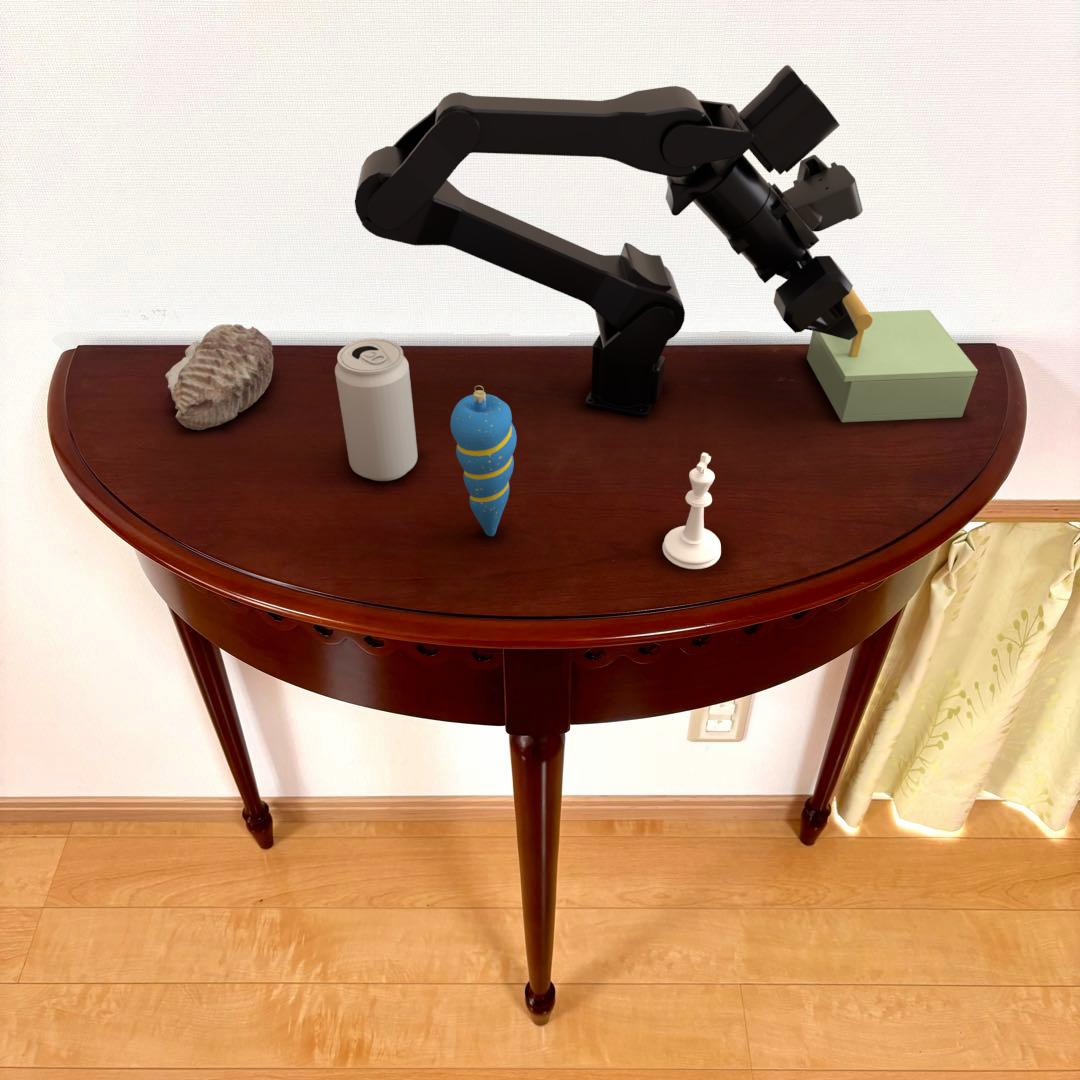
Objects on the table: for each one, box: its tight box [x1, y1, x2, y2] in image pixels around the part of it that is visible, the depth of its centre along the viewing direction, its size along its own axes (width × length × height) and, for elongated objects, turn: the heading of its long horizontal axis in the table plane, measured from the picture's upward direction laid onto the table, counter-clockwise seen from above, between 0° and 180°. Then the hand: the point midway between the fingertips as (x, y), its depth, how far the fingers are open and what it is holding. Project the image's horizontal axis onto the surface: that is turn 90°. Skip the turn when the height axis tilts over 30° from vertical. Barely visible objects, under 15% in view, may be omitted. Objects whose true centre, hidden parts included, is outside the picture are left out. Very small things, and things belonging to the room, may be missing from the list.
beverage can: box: [334, 337, 419, 482], centre depth 87 cm, size 6×6×12 cm
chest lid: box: [814, 288, 979, 382], centre depth 96 cm, size 13×12×6 cm
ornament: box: [449, 385, 518, 537], centre depth 78 cm, size 5×5×15 cm
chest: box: [806, 330, 977, 423], centre depth 99 cm, size 12×12×5 cm
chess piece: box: [662, 452, 722, 570], centre depth 78 cm, size 5×5×10 cm
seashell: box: [164, 323, 274, 431], centre depth 97 cm, size 14×9×10 cm
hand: (838, 313), depth 95 cm, fingers open, 9 cm apart
